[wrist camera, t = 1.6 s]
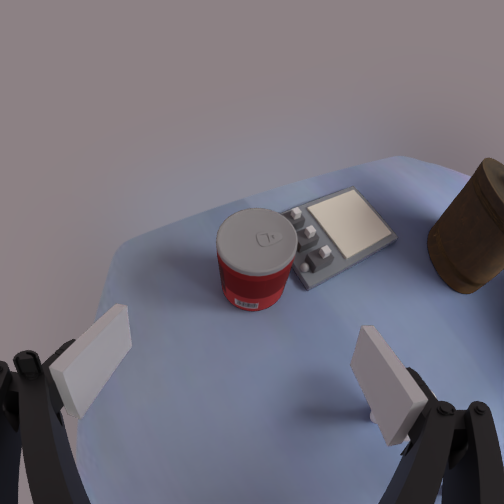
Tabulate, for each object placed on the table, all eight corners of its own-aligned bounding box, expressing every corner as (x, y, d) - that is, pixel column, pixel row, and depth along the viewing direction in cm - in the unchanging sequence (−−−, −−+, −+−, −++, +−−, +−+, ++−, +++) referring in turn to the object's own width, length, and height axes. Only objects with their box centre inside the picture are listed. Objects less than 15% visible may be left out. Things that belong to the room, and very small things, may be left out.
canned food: (294, 295, 35) (313, 251, 26) (239, 324, 33) (238, 287, 24) (264, 251, 39) (272, 197, 29) (212, 274, 36) (203, 224, 27)
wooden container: (491, 275, 38) (561, 207, 19) (456, 308, 34) (551, 230, 16) (453, 217, 45) (507, 138, 26) (412, 236, 41) (479, 137, 23)
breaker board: (351, 190, 46) (358, 173, 42) (394, 241, 40) (406, 226, 37) (263, 224, 41) (265, 206, 37) (307, 290, 36) (315, 276, 32)
